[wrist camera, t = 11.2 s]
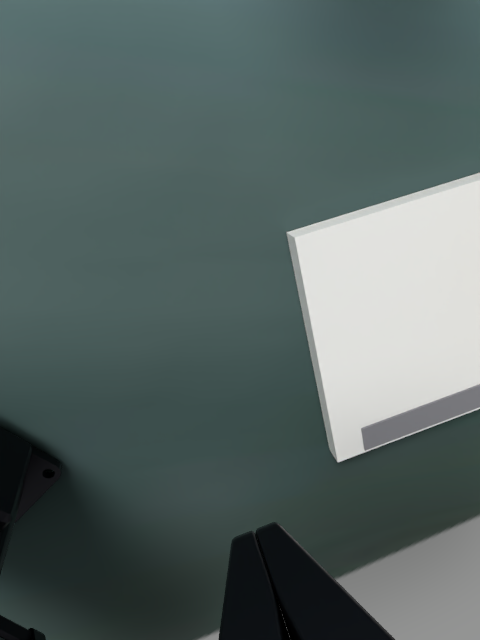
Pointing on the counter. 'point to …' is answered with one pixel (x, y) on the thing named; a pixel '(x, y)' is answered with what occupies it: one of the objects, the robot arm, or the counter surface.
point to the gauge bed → (393, 314)
